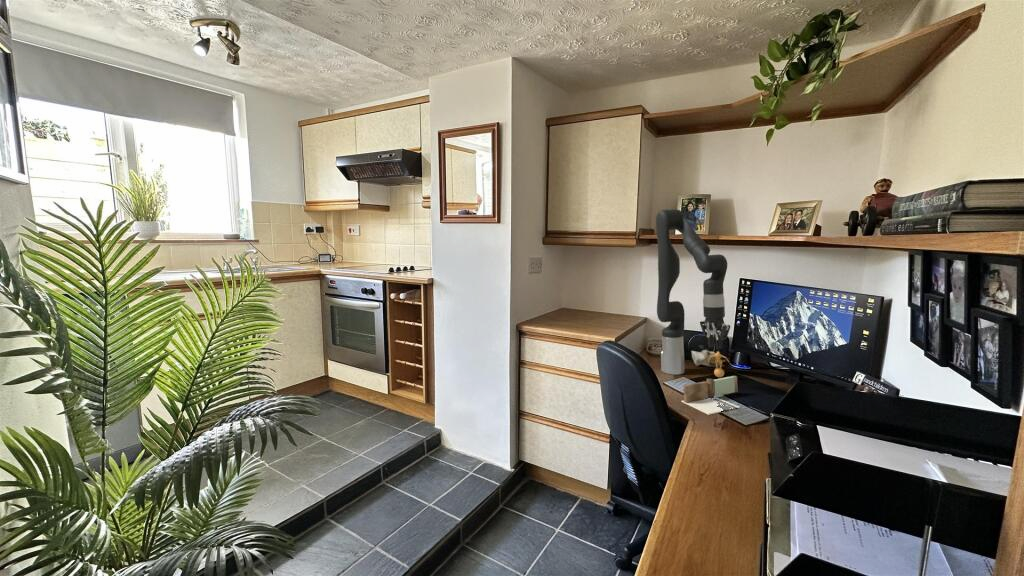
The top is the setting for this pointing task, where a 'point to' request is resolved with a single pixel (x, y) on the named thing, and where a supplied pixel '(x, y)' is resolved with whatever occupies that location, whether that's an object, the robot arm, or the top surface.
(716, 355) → the figurine
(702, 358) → the ceramic sculpture
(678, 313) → the robot arm
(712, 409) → the card
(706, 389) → the fence post and fixed panel
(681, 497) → the top surface
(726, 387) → the panel
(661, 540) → the top surface
